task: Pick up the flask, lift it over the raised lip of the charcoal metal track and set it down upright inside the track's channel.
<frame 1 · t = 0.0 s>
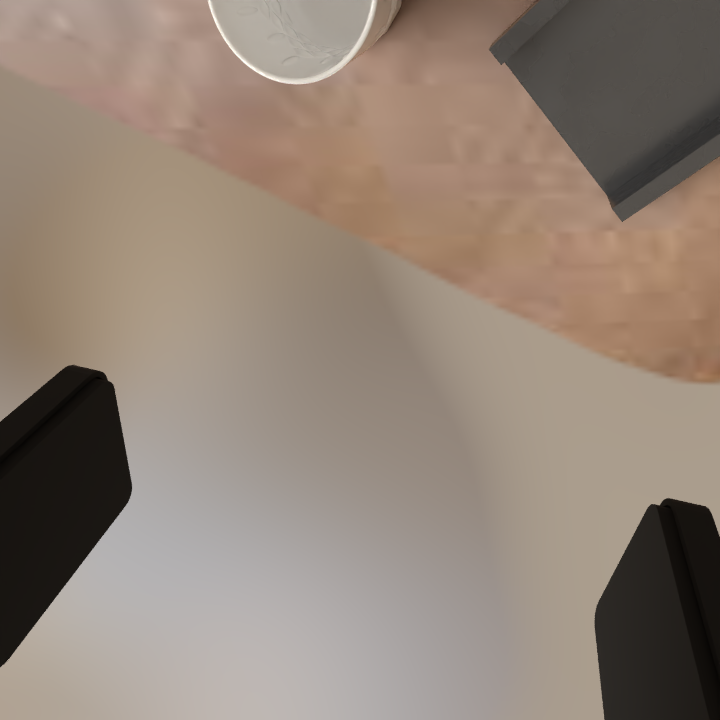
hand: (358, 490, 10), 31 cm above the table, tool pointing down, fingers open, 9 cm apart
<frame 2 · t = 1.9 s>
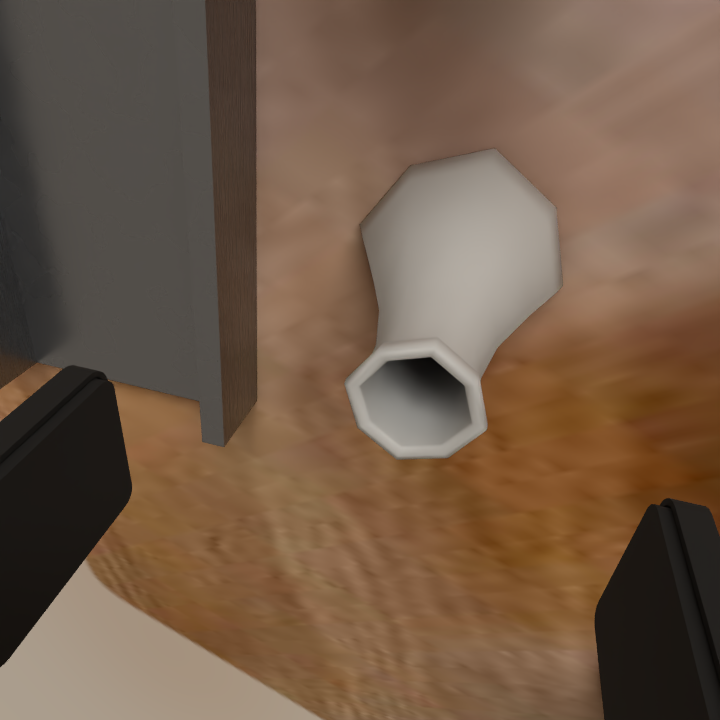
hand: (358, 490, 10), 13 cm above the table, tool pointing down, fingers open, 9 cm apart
track: (114, 164, 23), on the table
flask: (461, 249, 22), on the table
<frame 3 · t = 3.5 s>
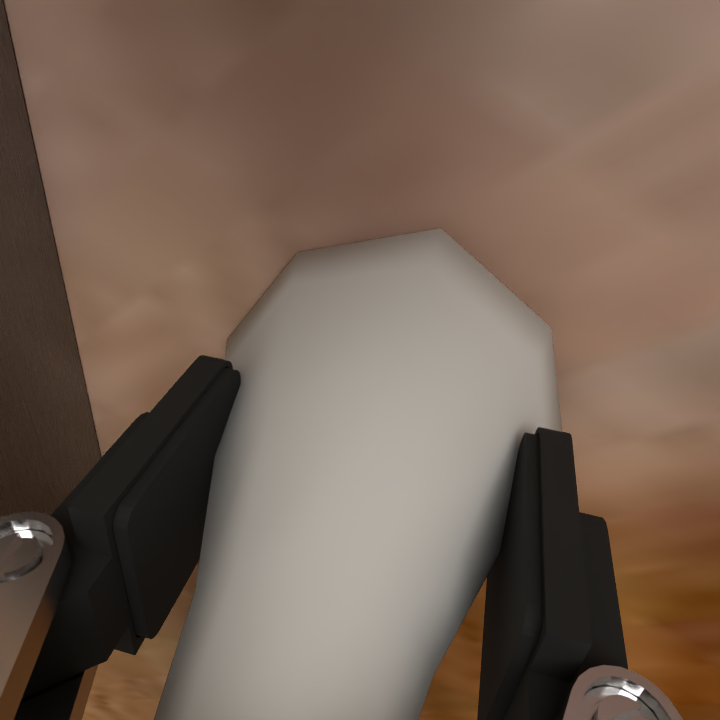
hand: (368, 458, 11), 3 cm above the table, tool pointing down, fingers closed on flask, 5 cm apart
flask: (395, 378, 13), on the table, touching gripper
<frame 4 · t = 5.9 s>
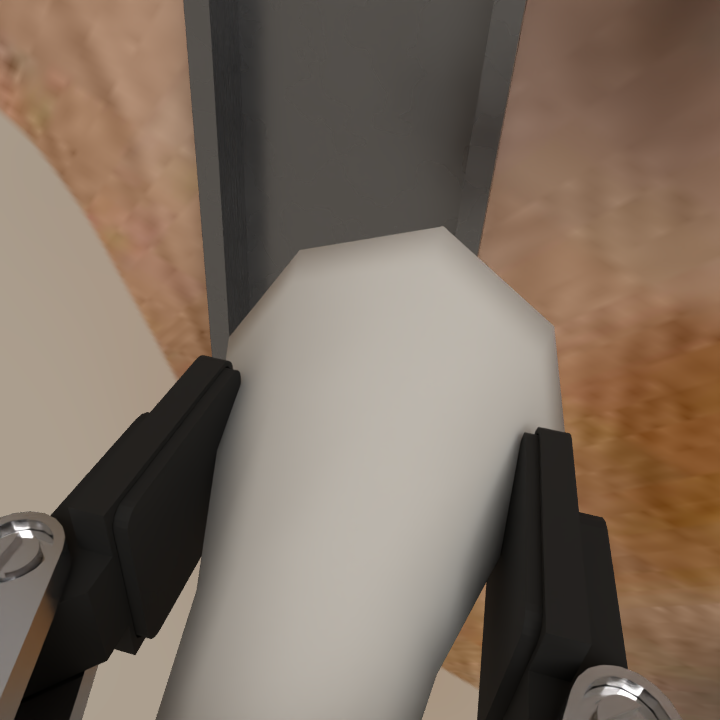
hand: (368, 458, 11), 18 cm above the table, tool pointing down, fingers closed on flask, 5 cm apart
track: (356, 174, 27), on the table
flask: (397, 377, 13), point 15 cm above the table, touching gripper
when the fingers open (5 cm above the table, at t = 8.5 s): flask drops 2 cm, resting on track.
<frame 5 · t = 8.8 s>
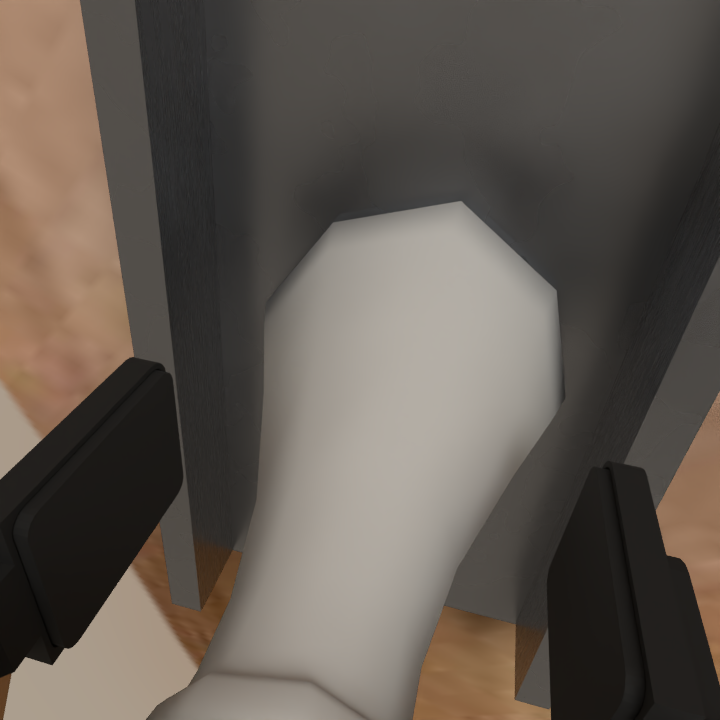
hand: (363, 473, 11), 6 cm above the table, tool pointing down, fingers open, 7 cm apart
track: (413, 320, 15), on the table
flask: (415, 339, 15), point 1 cm above the table, touching track
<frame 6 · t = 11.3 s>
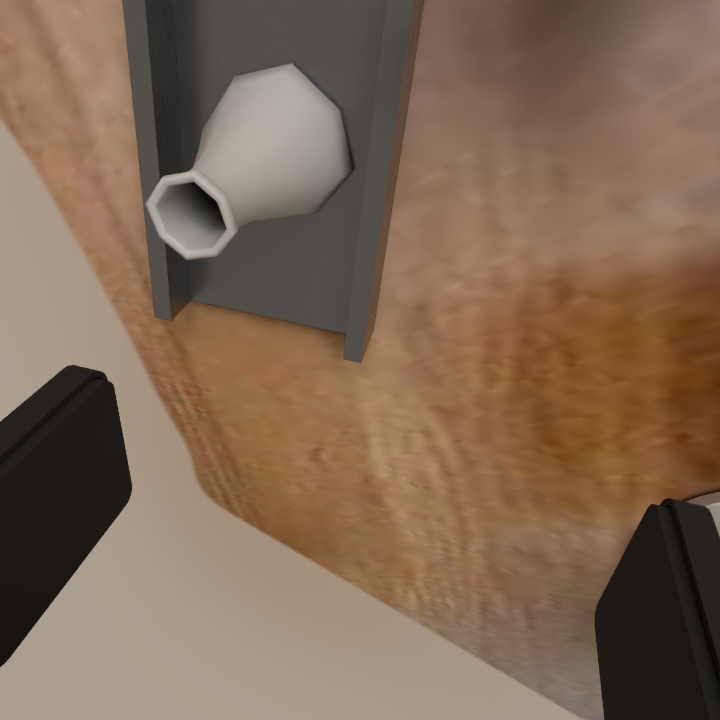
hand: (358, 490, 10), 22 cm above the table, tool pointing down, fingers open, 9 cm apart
track: (283, 139, 30), on the table
flask: (281, 145, 29), point 1 cm above the table, touching track
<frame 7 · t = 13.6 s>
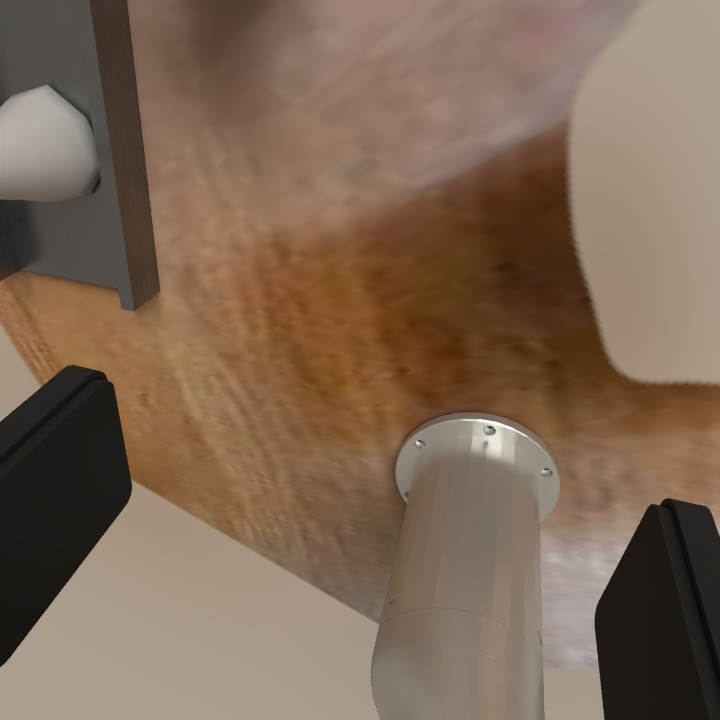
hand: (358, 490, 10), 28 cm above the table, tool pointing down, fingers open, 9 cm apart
track: (62, 141, 40), on the table
flask: (57, 145, 39), point 1 cm above the table, touching track
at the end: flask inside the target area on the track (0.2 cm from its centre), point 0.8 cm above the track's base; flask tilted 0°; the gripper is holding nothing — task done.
